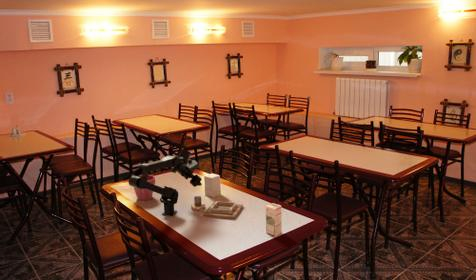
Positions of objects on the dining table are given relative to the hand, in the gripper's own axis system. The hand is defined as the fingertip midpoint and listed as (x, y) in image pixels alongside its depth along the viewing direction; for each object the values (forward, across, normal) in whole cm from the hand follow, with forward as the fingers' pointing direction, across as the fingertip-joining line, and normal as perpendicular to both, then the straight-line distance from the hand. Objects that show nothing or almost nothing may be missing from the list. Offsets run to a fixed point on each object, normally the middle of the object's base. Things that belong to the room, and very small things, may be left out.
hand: (197, 181), depth 255 cm
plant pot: (-2, +23, +29) cm, 37 cm away
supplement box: (+19, 0, +1) cm, 19 cm away
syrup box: (+1, -64, -6) cm, 64 cm away
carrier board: (+6, -26, +3) cm, 27 cm away
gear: (+2, -12, +11) cm, 17 cm away
